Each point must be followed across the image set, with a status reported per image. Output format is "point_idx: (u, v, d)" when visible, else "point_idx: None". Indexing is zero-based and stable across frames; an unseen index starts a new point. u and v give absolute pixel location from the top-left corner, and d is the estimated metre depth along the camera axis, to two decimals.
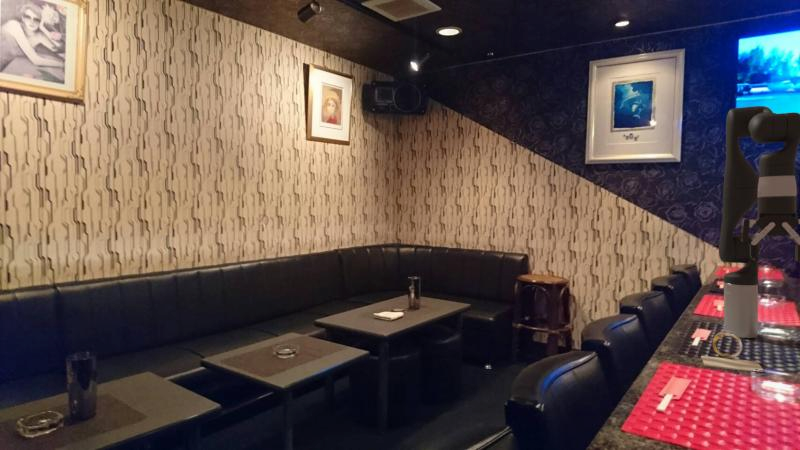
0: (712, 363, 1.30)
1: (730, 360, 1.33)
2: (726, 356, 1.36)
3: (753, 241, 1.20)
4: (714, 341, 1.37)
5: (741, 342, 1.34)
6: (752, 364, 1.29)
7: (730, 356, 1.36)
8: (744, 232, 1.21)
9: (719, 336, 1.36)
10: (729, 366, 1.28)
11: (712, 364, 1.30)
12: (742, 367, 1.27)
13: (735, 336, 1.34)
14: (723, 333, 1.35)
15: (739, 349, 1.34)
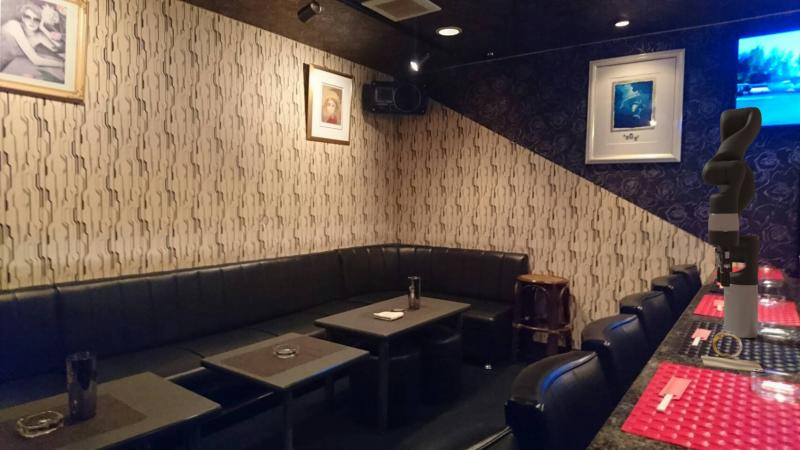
0: (712, 363, 1.30)
1: (730, 360, 1.33)
2: (726, 356, 1.36)
3: None
4: (714, 341, 1.37)
5: (741, 342, 1.34)
6: (752, 364, 1.29)
7: (730, 356, 1.36)
8: (731, 263, 1.36)
9: (719, 336, 1.36)
10: (729, 366, 1.28)
11: (712, 364, 1.30)
12: (742, 367, 1.27)
13: (735, 336, 1.34)
14: (723, 333, 1.35)
15: (739, 349, 1.34)
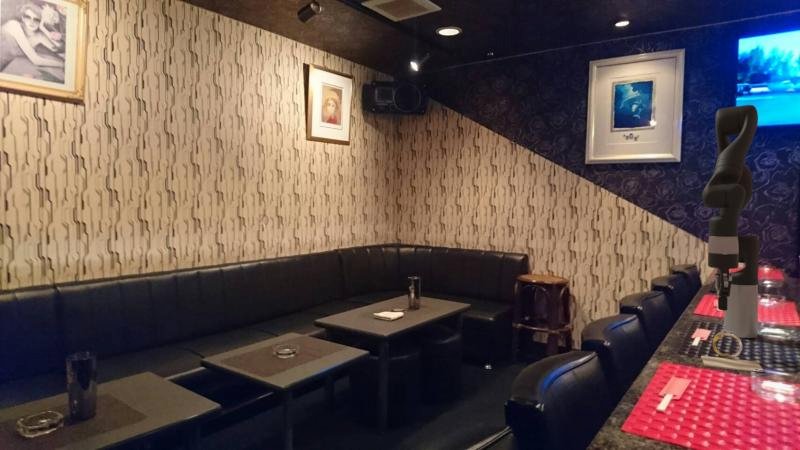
0: (712, 363, 1.30)
1: (730, 360, 1.33)
2: (726, 356, 1.36)
3: None
4: (714, 341, 1.37)
5: (741, 342, 1.34)
6: (752, 364, 1.29)
7: (730, 356, 1.36)
8: (729, 290, 1.39)
9: (719, 336, 1.36)
10: (729, 366, 1.28)
11: (712, 364, 1.30)
12: (742, 367, 1.27)
13: (735, 336, 1.34)
14: (723, 333, 1.35)
15: (739, 349, 1.34)
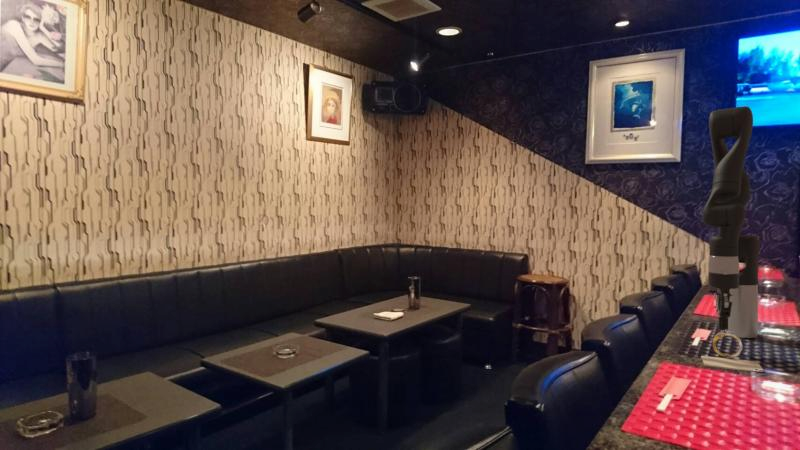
0: (712, 363, 1.30)
1: (730, 360, 1.33)
2: (726, 356, 1.36)
3: None
4: (714, 341, 1.37)
5: (741, 342, 1.34)
6: (752, 364, 1.29)
7: (730, 356, 1.36)
8: None
9: (719, 336, 1.36)
10: (729, 366, 1.28)
11: (712, 364, 1.30)
12: (742, 367, 1.27)
13: (735, 336, 1.34)
14: (723, 333, 1.35)
15: (739, 349, 1.34)
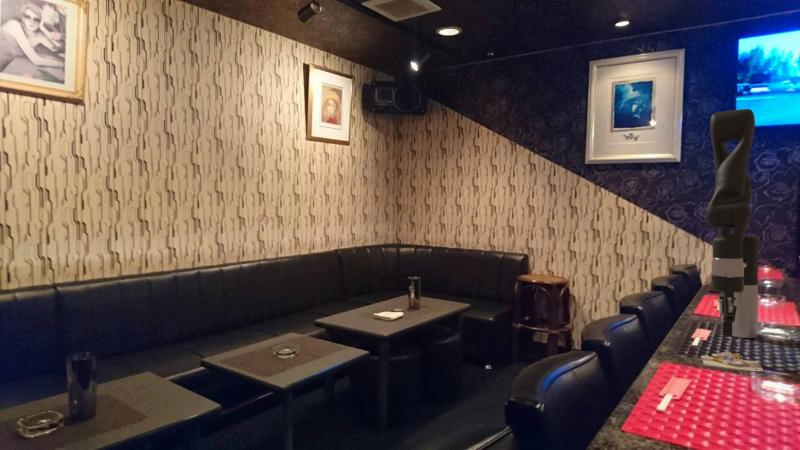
0: (712, 363, 1.30)
1: None
2: None
3: None
4: None
5: (741, 359, 1.30)
6: (752, 364, 1.29)
7: None
8: (734, 315, 1.31)
9: (718, 360, 1.32)
10: (729, 366, 1.28)
11: (712, 364, 1.30)
12: (742, 367, 1.27)
13: None
14: (722, 361, 1.30)
15: None
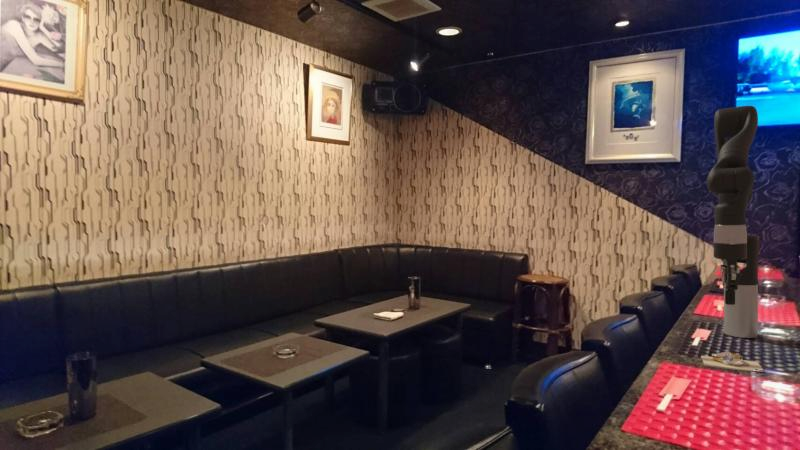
0: (712, 363, 1.30)
1: None
2: None
3: None
4: None
5: (741, 359, 1.30)
6: (752, 364, 1.29)
7: None
8: (737, 283, 1.28)
9: (718, 360, 1.32)
10: (729, 366, 1.28)
11: (712, 364, 1.30)
12: (742, 367, 1.27)
13: None
14: (722, 361, 1.30)
15: None
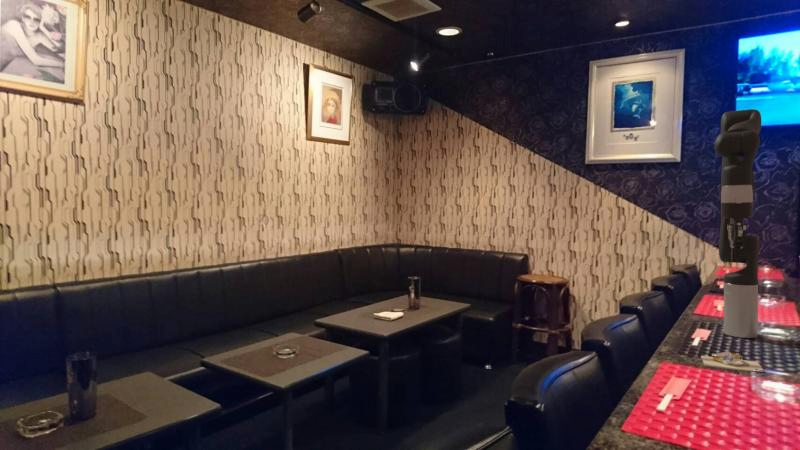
0: (712, 363, 1.30)
1: None
2: None
3: None
4: None
5: (741, 359, 1.30)
6: (752, 364, 1.29)
7: None
8: None
9: (718, 360, 1.32)
10: (729, 366, 1.28)
11: (712, 364, 1.30)
12: (742, 367, 1.27)
13: None
14: (722, 361, 1.30)
15: None
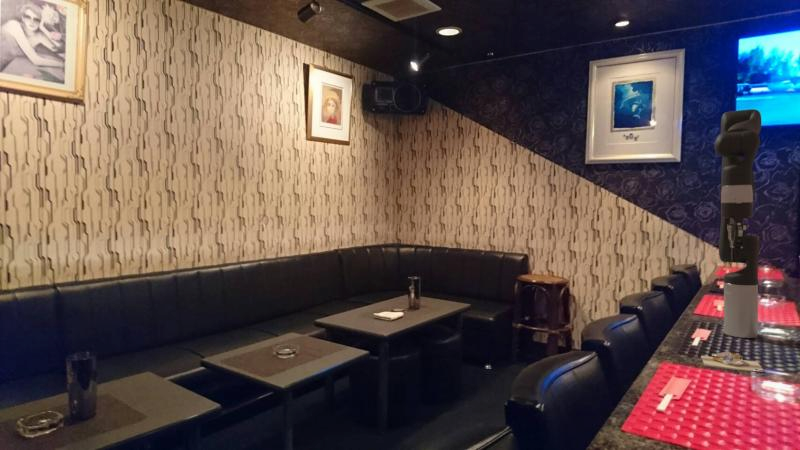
0: (712, 363, 1.30)
1: None
2: None
3: None
4: None
5: (741, 359, 1.30)
6: (752, 364, 1.29)
7: None
8: None
9: (718, 360, 1.32)
10: (729, 366, 1.28)
11: (712, 364, 1.30)
12: (742, 367, 1.27)
13: None
14: (722, 361, 1.30)
15: None
